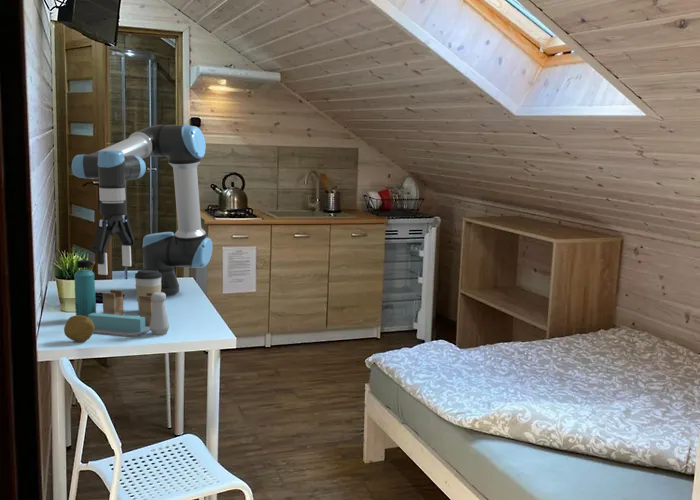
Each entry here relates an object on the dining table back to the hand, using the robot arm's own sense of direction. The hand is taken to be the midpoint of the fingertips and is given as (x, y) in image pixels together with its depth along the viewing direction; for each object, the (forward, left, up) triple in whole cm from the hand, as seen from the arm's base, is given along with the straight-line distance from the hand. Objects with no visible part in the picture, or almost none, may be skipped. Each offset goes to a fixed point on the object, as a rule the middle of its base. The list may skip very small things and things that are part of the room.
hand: (115, 270), depth 218 cm
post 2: (-9, +7, -19) cm, 22 cm away
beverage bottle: (-8, -16, -19) cm, 26 cm away
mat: (0, 0, -19) cm, 19 cm away
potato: (+14, -4, -19) cm, 24 cm away
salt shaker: (0, +14, -19) cm, 24 cm away
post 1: (-9, -6, -19) cm, 22 cm away
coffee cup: (-24, -2, -19) cm, 31 cm away
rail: (0, 0, -19) cm, 19 cm away
